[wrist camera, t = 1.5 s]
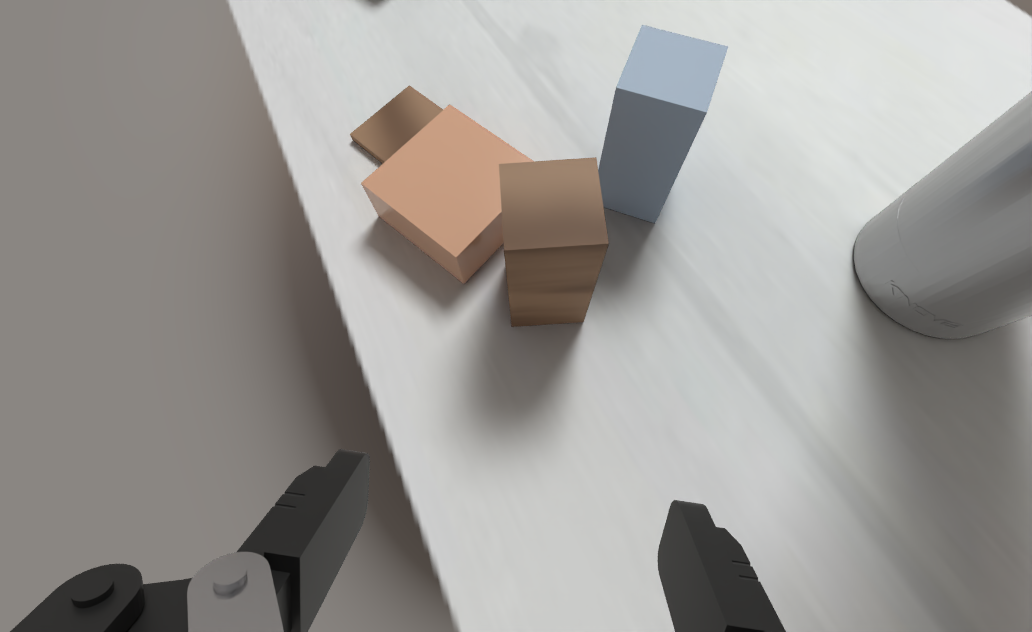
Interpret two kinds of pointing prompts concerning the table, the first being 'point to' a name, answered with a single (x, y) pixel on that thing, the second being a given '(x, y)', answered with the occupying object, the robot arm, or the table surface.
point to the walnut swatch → (395, 124)
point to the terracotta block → (446, 191)
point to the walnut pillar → (552, 238)
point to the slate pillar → (656, 119)
